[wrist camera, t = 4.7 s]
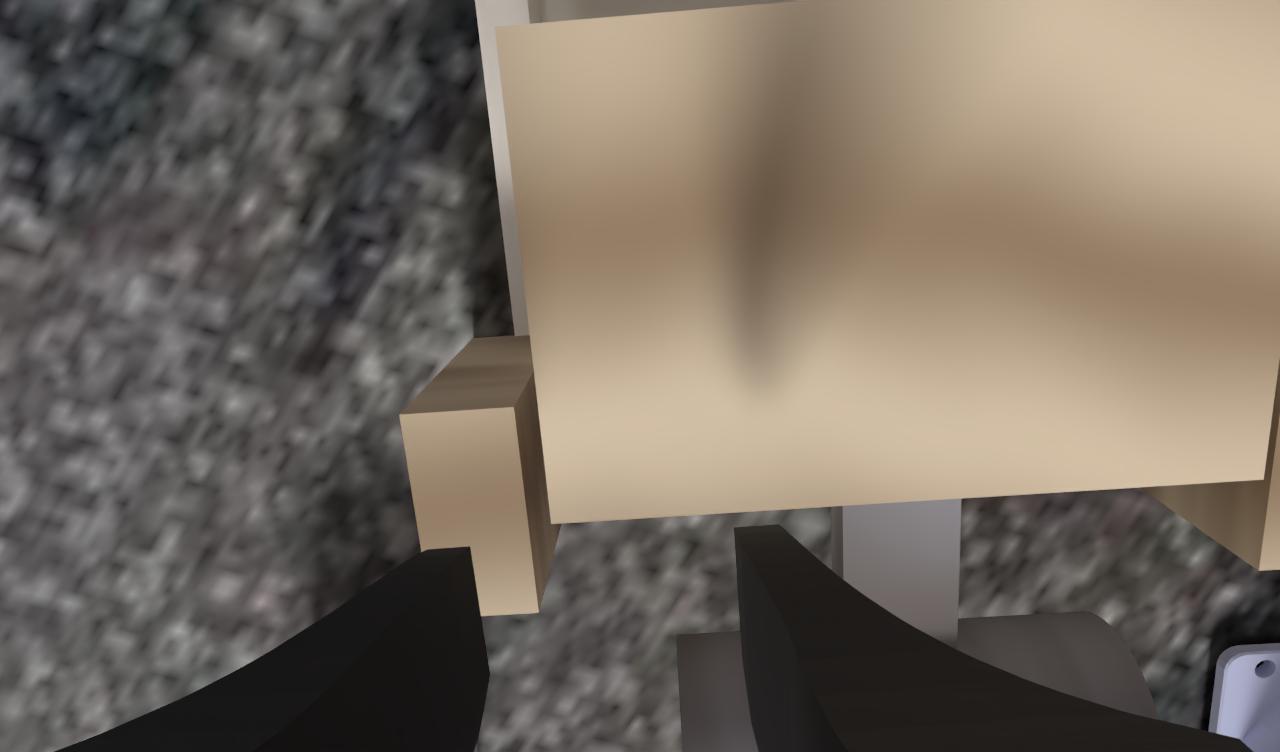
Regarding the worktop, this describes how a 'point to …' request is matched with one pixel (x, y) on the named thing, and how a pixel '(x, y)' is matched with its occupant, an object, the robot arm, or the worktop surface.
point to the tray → (503, 6)
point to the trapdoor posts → (525, 538)
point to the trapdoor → (898, 281)
